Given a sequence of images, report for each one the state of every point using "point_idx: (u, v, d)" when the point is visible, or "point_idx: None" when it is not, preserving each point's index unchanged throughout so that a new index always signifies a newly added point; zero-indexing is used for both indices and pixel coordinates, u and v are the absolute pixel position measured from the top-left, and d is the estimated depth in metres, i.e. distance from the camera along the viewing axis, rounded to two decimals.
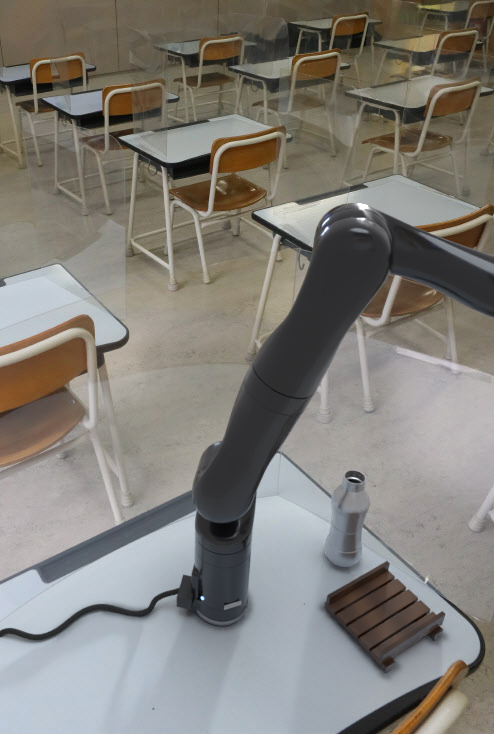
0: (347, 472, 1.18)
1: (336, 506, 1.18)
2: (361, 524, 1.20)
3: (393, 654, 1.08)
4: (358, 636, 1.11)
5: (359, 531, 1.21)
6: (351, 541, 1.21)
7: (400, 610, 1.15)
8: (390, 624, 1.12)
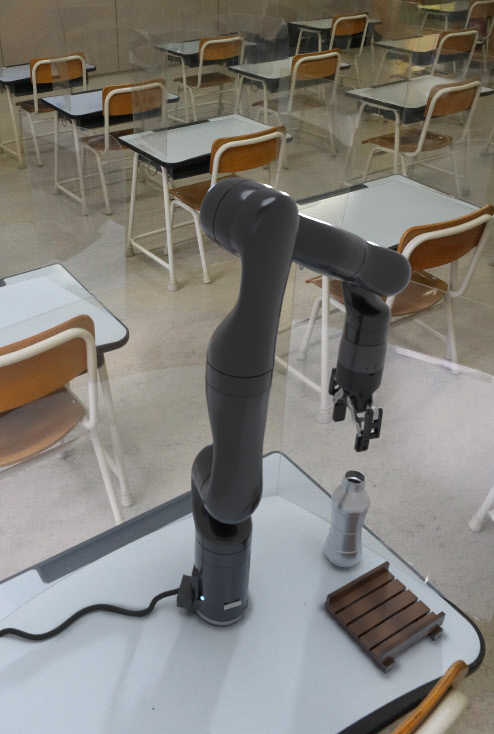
0: (347, 472, 1.18)
1: (336, 506, 1.18)
2: (361, 524, 1.20)
3: (393, 654, 1.08)
4: (358, 636, 1.11)
5: (359, 531, 1.21)
6: (351, 541, 1.21)
7: (400, 610, 1.15)
8: (390, 624, 1.12)
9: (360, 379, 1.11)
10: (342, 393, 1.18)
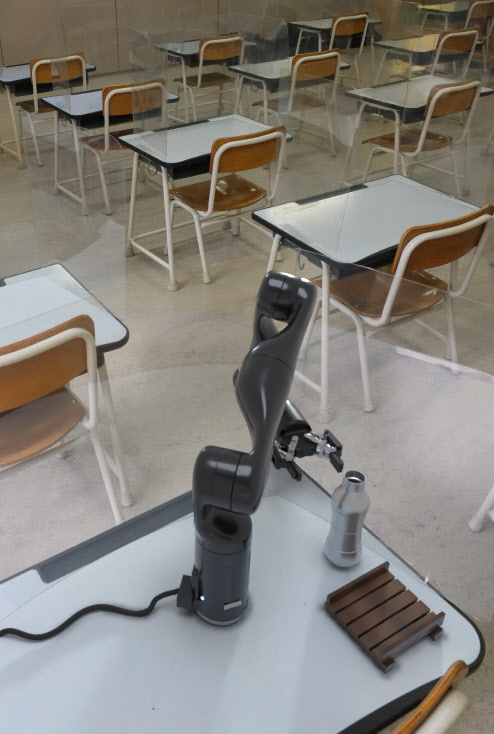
0: (347, 472, 1.18)
1: (336, 506, 1.18)
2: (361, 524, 1.20)
3: (393, 654, 1.08)
4: (358, 636, 1.11)
5: (359, 531, 1.21)
6: (351, 541, 1.21)
7: (400, 610, 1.15)
8: (390, 624, 1.12)
9: None
10: (297, 438, 1.37)
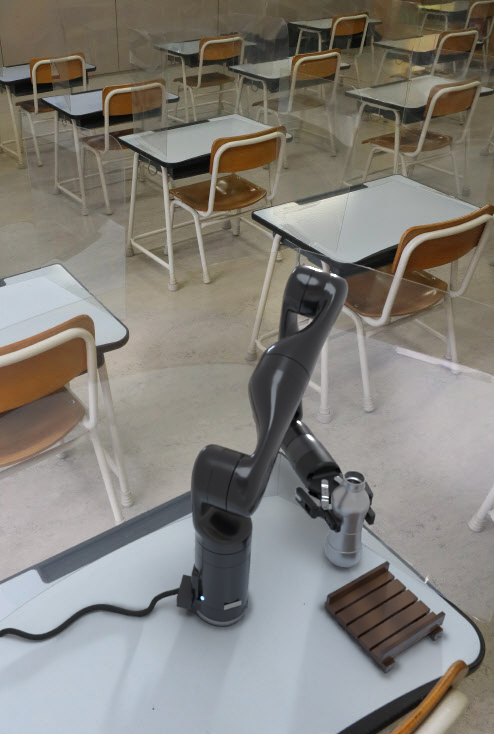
0: (347, 472, 1.18)
1: (336, 506, 1.18)
2: (361, 524, 1.20)
3: (393, 654, 1.08)
4: (358, 636, 1.11)
5: (359, 531, 1.21)
6: (351, 541, 1.21)
7: (400, 610, 1.15)
8: (390, 624, 1.12)
9: None
10: (327, 481, 1.26)
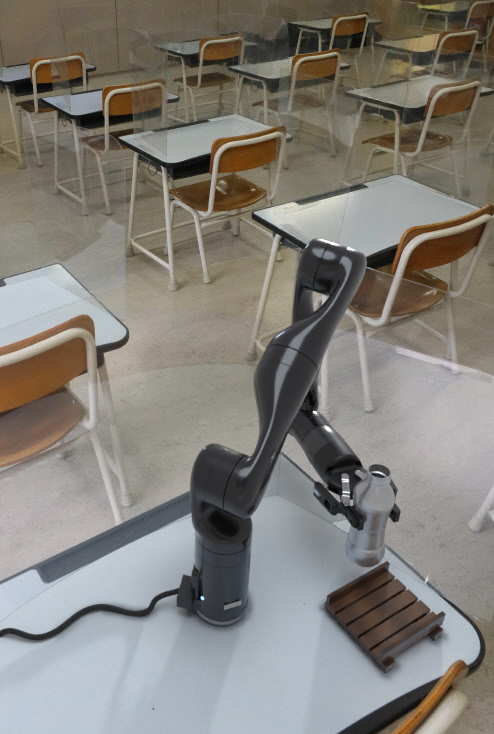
0: (370, 466, 1.10)
1: (359, 502, 1.10)
2: (385, 522, 1.11)
3: (393, 654, 1.08)
4: (358, 636, 1.11)
5: (383, 529, 1.12)
6: (374, 540, 1.13)
7: (400, 610, 1.15)
8: (390, 624, 1.12)
9: None
10: (347, 475, 1.18)
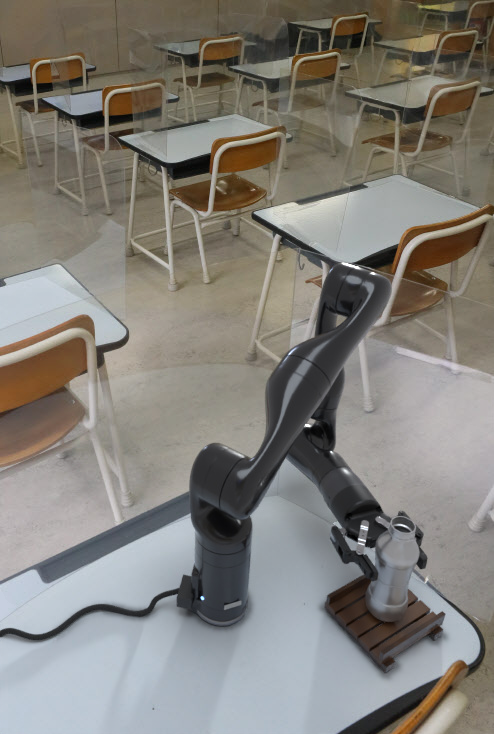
0: (394, 519, 1.06)
1: (381, 557, 1.06)
2: (409, 576, 1.07)
3: (393, 654, 1.08)
4: (358, 636, 1.11)
5: (406, 584, 1.08)
6: (397, 595, 1.09)
7: None
8: (390, 624, 1.12)
9: None
10: (367, 523, 1.13)
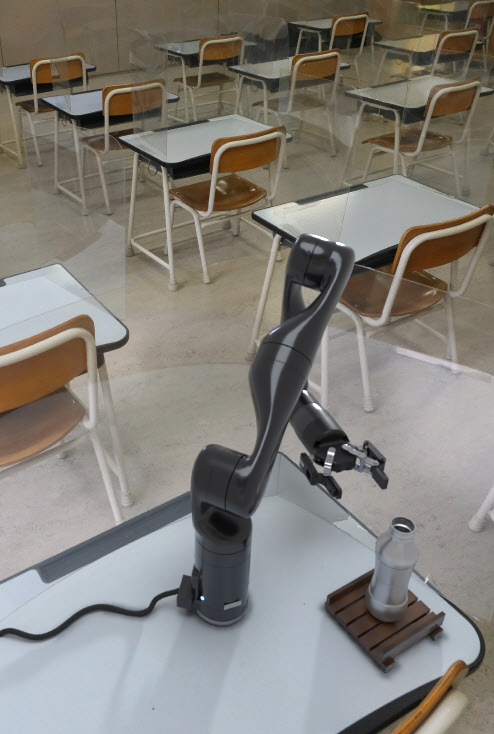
0: (394, 519, 1.06)
1: (381, 557, 1.06)
2: (409, 576, 1.07)
3: (393, 654, 1.08)
4: (358, 636, 1.11)
5: (406, 584, 1.08)
6: (397, 595, 1.09)
7: None
8: (390, 624, 1.12)
9: None
10: (334, 449, 1.21)
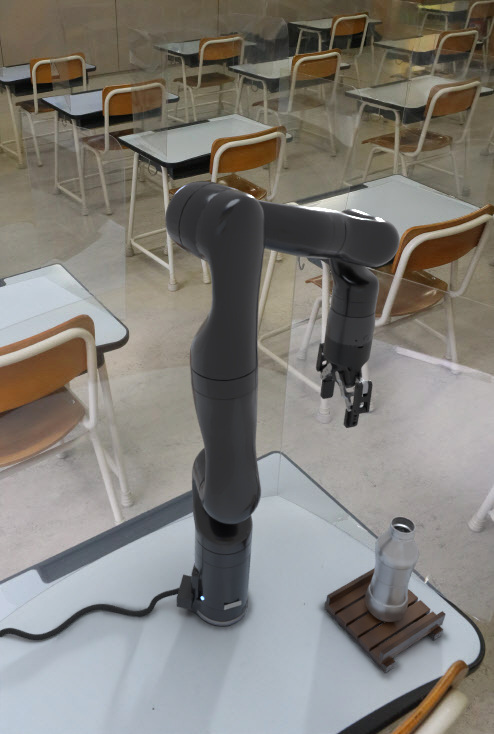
0: (394, 519, 1.06)
1: (381, 557, 1.06)
2: (409, 576, 1.07)
3: (393, 654, 1.08)
4: (358, 636, 1.11)
5: (406, 584, 1.08)
6: (397, 595, 1.09)
7: None
8: (390, 624, 1.12)
9: (349, 352, 1.09)
10: (330, 368, 1.16)
